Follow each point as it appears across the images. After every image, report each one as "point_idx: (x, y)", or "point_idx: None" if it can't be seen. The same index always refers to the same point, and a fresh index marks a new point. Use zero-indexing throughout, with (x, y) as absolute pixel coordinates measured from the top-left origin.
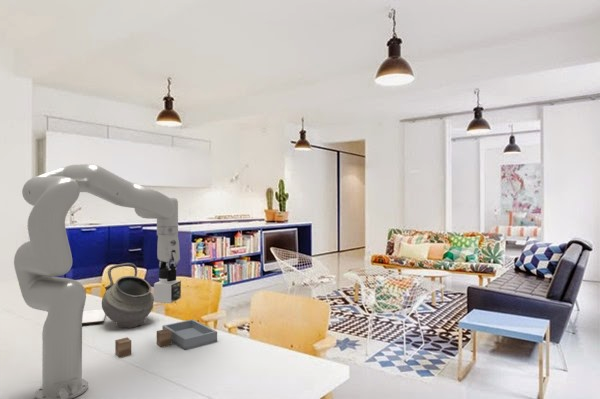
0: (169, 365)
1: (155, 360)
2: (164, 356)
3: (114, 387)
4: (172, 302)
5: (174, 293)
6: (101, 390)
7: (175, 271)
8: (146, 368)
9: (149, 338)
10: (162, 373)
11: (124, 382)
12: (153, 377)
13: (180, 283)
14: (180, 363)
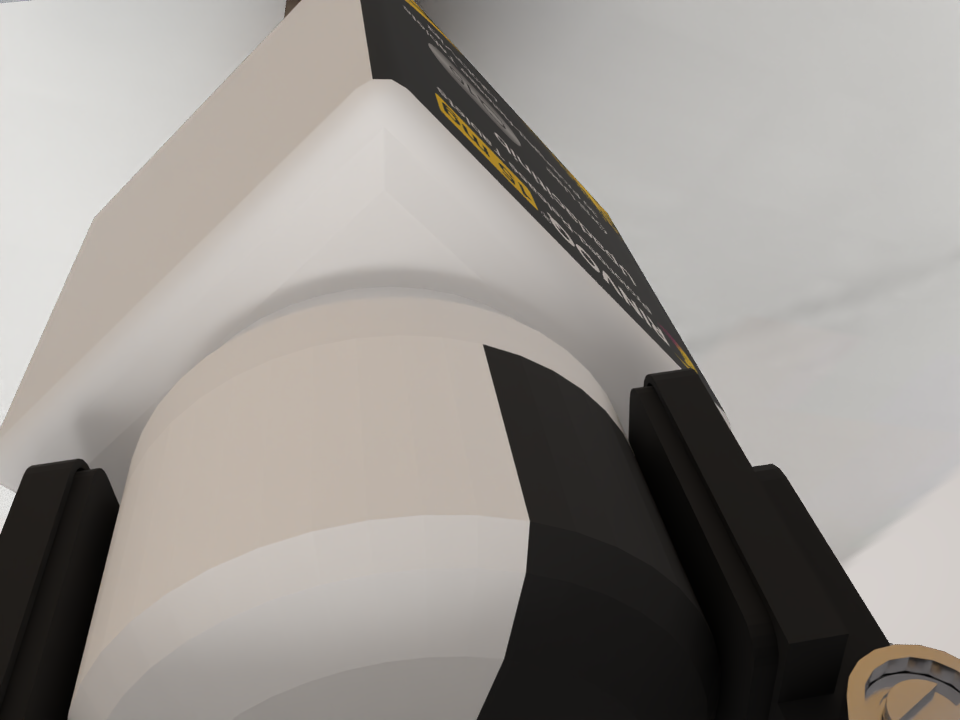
0: (853, 158)
1: (684, 222)
2: (656, 139)
3: (873, 482)
4: (597, 204)
5: (595, 225)
6: (853, 529)
7: (803, 585)
8: (773, 305)
9: (80, 133)
10: (932, 237)
11: (858, 438)
12: (937, 298)
13: (410, 71)
14: (889, 71)
